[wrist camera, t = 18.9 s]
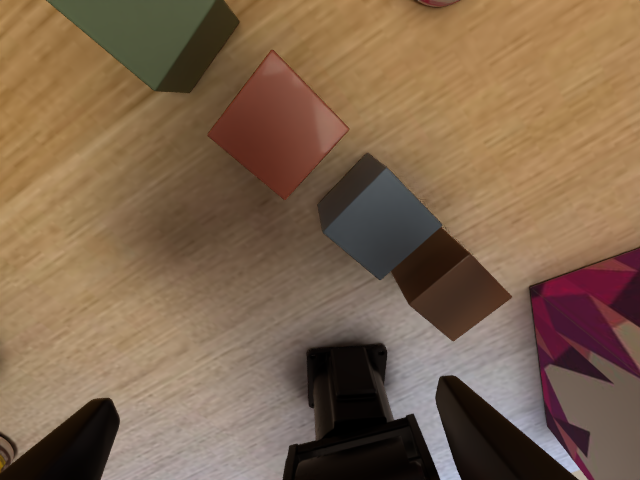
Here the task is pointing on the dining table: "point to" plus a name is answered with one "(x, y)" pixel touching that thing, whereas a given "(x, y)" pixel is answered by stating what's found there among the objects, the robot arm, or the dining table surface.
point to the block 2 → (278, 127)
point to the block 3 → (375, 217)
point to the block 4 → (448, 285)
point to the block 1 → (156, 35)
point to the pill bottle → (438, 2)
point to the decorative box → (593, 364)
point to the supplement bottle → (5, 454)
